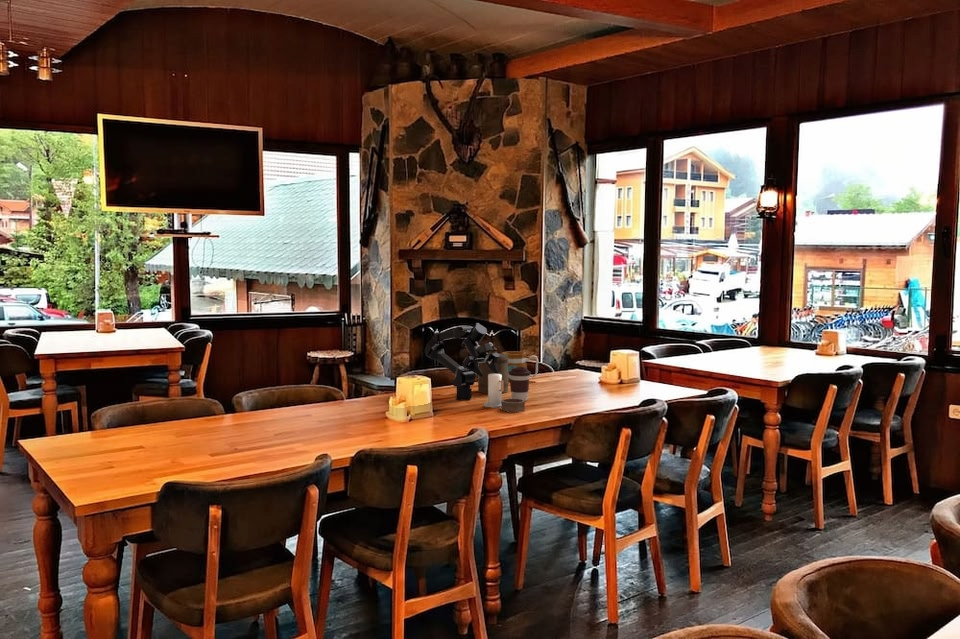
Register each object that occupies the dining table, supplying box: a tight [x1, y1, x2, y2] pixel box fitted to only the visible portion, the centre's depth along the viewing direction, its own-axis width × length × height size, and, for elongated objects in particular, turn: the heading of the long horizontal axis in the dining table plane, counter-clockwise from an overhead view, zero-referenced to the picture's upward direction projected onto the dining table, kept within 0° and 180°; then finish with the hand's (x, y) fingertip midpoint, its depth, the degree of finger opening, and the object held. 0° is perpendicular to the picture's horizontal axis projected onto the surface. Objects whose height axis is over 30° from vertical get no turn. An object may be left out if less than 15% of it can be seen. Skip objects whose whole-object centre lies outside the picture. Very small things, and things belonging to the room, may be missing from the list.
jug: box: [487, 374, 504, 405], centre depth 338 cm, size 8×6×13 cm
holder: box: [500, 397, 526, 413], centre depth 331 cm, size 10×10×4 cm
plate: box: [483, 401, 501, 409], centre depth 339 cm, size 10×10×1 cm
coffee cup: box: [509, 367, 531, 401], centre depth 352 cm, size 10×10×15 cm
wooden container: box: [477, 346, 509, 394], centre depth 375 cm, size 15×15×22 cm
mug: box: [501, 350, 539, 383], centre depth 406 cm, size 20×14×15 cm
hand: (490, 375), depth 341 cm, fingers open, 9 cm apart
